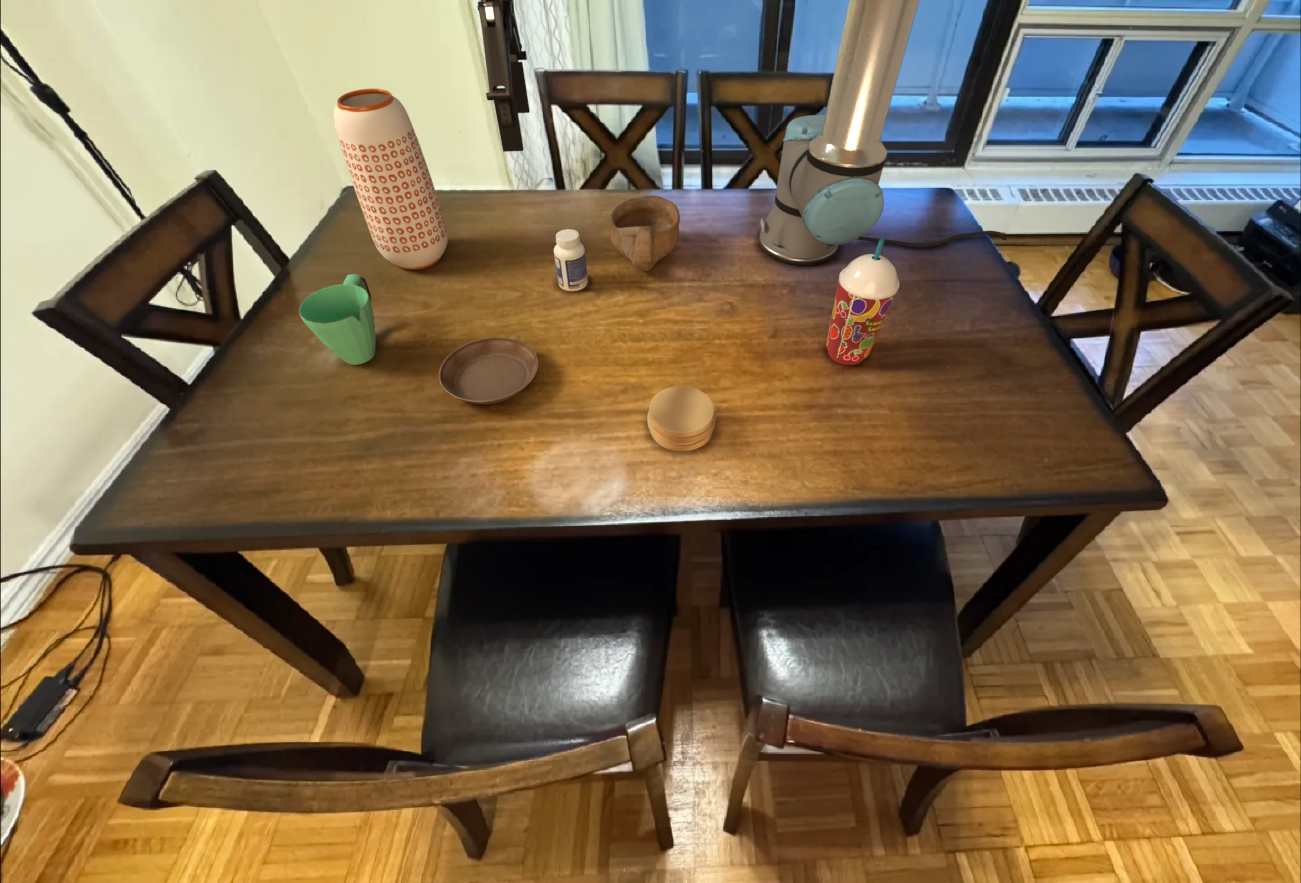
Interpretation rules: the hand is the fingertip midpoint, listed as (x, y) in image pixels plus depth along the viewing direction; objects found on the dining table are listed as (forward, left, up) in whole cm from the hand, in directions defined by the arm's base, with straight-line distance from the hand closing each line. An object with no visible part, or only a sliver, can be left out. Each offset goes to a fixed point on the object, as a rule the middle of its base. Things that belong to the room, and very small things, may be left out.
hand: (517, 130), depth 84 cm
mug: (+29, +12, -28) cm, 42 cm away
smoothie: (-49, +20, -28) cm, 60 cm away
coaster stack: (-21, +34, -28) cm, 49 cm away
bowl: (-19, -11, -28) cm, 36 cm away
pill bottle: (-5, -3, -28) cm, 29 cm away
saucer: (+7, +22, -28) cm, 36 cm away
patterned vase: (+25, -14, -28) cm, 40 cm away
